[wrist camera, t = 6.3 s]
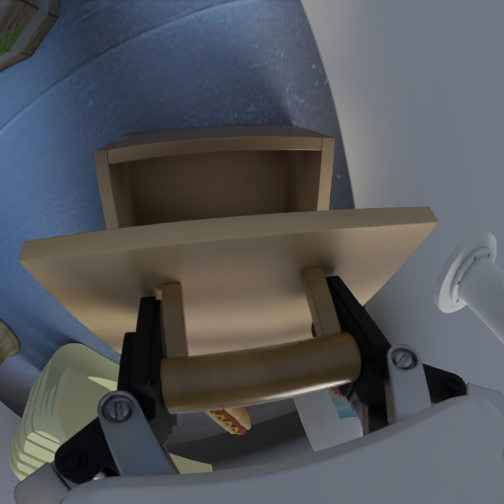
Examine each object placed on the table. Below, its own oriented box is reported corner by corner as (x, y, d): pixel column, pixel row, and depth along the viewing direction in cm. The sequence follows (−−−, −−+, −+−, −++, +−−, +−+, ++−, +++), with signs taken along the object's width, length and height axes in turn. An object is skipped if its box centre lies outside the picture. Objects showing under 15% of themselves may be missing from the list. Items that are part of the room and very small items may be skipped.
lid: (23, 240, 7) (2, 399, 4) (430, 206, 10) (486, 323, 7) (149, 367, 23) (155, 421, 21) (307, 346, 26) (319, 397, 23)
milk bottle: (292, 394, 45) (330, 496, 28) (282, 372, 41) (326, 491, 24) (334, 377, 45) (381, 474, 28) (330, 353, 41) (386, 465, 24)
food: (253, 409, 45) (259, 433, 41) (224, 418, 45) (229, 441, 41) (220, 371, 38) (225, 400, 33) (185, 382, 38) (187, 411, 33)
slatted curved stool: (92, 293, 28) (51, 444, 12) (197, 358, 35) (215, 488, 20) (25, 388, 34) (6, 474, 18) (98, 426, 41) (95, 507, 26)
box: (121, 136, 21) (92, 152, 14) (294, 125, 24) (335, 137, 17) (153, 311, 30) (149, 367, 24) (283, 297, 33) (306, 347, 26)
